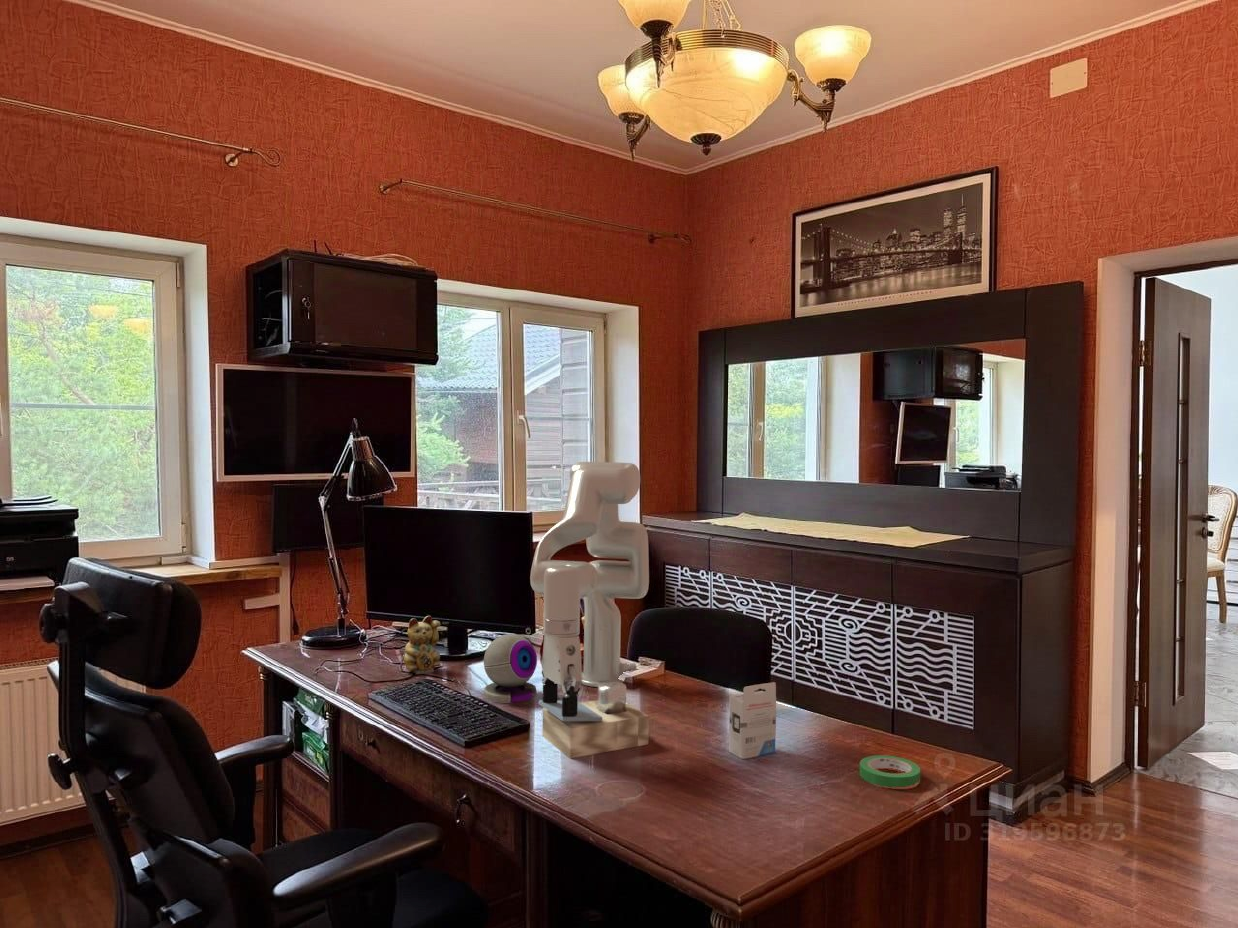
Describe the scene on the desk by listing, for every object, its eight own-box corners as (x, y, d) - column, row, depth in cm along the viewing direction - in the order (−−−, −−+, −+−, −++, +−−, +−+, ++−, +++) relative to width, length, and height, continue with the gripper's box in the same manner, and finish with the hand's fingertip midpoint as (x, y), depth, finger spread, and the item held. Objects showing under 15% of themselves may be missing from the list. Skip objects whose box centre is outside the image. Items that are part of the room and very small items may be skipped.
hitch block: (616, 723, 191) (617, 697, 191) (648, 744, 178) (648, 715, 178) (542, 735, 182) (542, 707, 182) (570, 758, 170) (570, 728, 170)
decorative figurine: (410, 676, 224) (411, 620, 224) (397, 669, 230) (397, 614, 230) (444, 671, 230) (444, 615, 230) (430, 664, 237) (430, 610, 236)
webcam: (509, 706, 202) (510, 643, 201) (472, 695, 209) (472, 634, 209) (546, 693, 212) (547, 633, 211) (509, 683, 220) (510, 626, 219)
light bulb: (617, 728, 186) (617, 680, 186) (630, 736, 181) (631, 687, 181) (592, 732, 184) (593, 683, 183) (605, 741, 178) (606, 691, 178)
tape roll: (849, 779, 163) (849, 765, 163) (875, 763, 171) (875, 750, 171) (904, 796, 155) (905, 782, 155) (929, 779, 164) (930, 765, 163)
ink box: (761, 745, 179) (763, 675, 179) (776, 753, 175) (777, 681, 174) (727, 751, 175) (729, 680, 175) (741, 759, 171) (743, 686, 170)
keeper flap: (576, 704, 185) (577, 700, 185) (601, 721, 174) (602, 717, 174) (538, 703, 180) (539, 699, 180) (562, 720, 170) (562, 716, 170)
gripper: (596, 633, 169) (594, 719, 170) (560, 617, 185) (558, 696, 185) (562, 636, 166) (560, 723, 166) (528, 620, 181) (526, 700, 181)
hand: (559, 709), depth 176 cm, fingers open, 9 cm apart
